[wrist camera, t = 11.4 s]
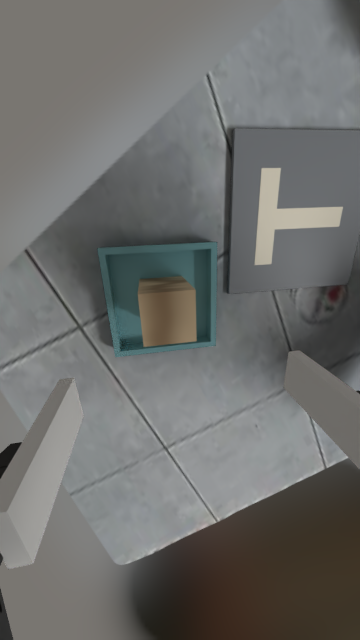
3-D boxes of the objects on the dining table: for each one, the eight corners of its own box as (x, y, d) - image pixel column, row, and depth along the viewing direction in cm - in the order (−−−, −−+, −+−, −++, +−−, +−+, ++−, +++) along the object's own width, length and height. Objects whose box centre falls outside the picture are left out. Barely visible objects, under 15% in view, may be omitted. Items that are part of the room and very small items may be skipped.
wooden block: (181, 275, 32) (195, 289, 23) (183, 315, 34) (196, 341, 25) (139, 278, 31) (137, 294, 23) (143, 319, 33) (143, 347, 25)
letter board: (376, 133, 29) (383, 130, 29) (344, 283, 36) (348, 284, 36) (232, 131, 27) (235, 128, 26) (227, 292, 34) (229, 294, 33)
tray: (211, 241, 31) (217, 242, 29) (211, 338, 36) (215, 345, 34) (100, 247, 29) (97, 248, 27) (117, 349, 34) (115, 357, 32)
